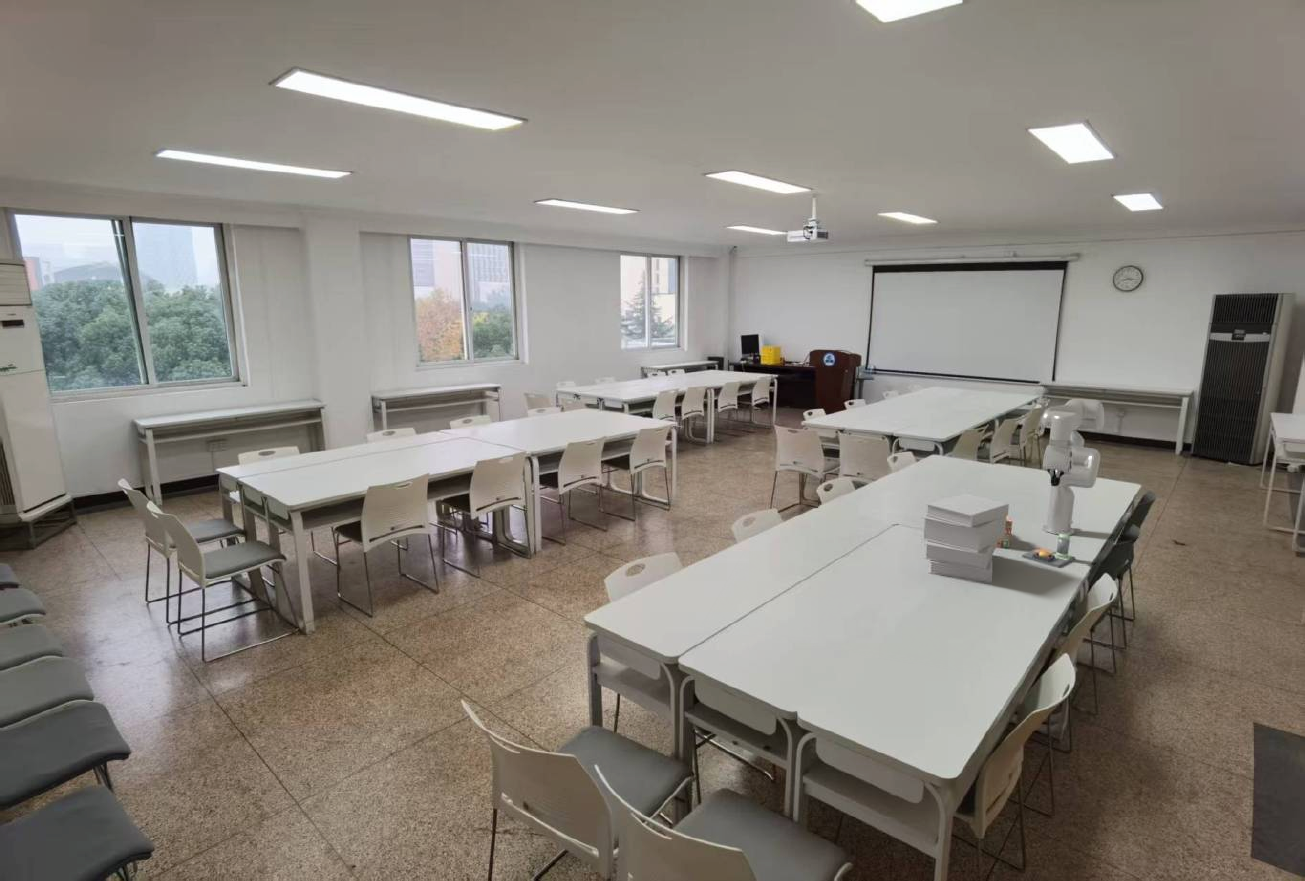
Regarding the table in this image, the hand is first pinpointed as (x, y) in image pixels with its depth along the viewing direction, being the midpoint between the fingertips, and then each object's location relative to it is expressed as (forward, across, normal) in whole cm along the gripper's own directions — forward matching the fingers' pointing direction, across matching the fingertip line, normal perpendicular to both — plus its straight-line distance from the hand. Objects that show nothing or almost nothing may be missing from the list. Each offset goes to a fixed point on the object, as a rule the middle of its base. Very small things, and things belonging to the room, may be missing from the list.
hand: (1054, 485), depth 279 cm
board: (+27, -7, +16) cm, 32 cm away
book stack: (+27, +11, +50) cm, 58 cm away
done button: (+26, -7, +20) cm, 33 cm away
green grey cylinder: (+26, -10, +12) cm, 30 cm away
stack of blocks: (+27, +18, +10) cm, 35 cm away
